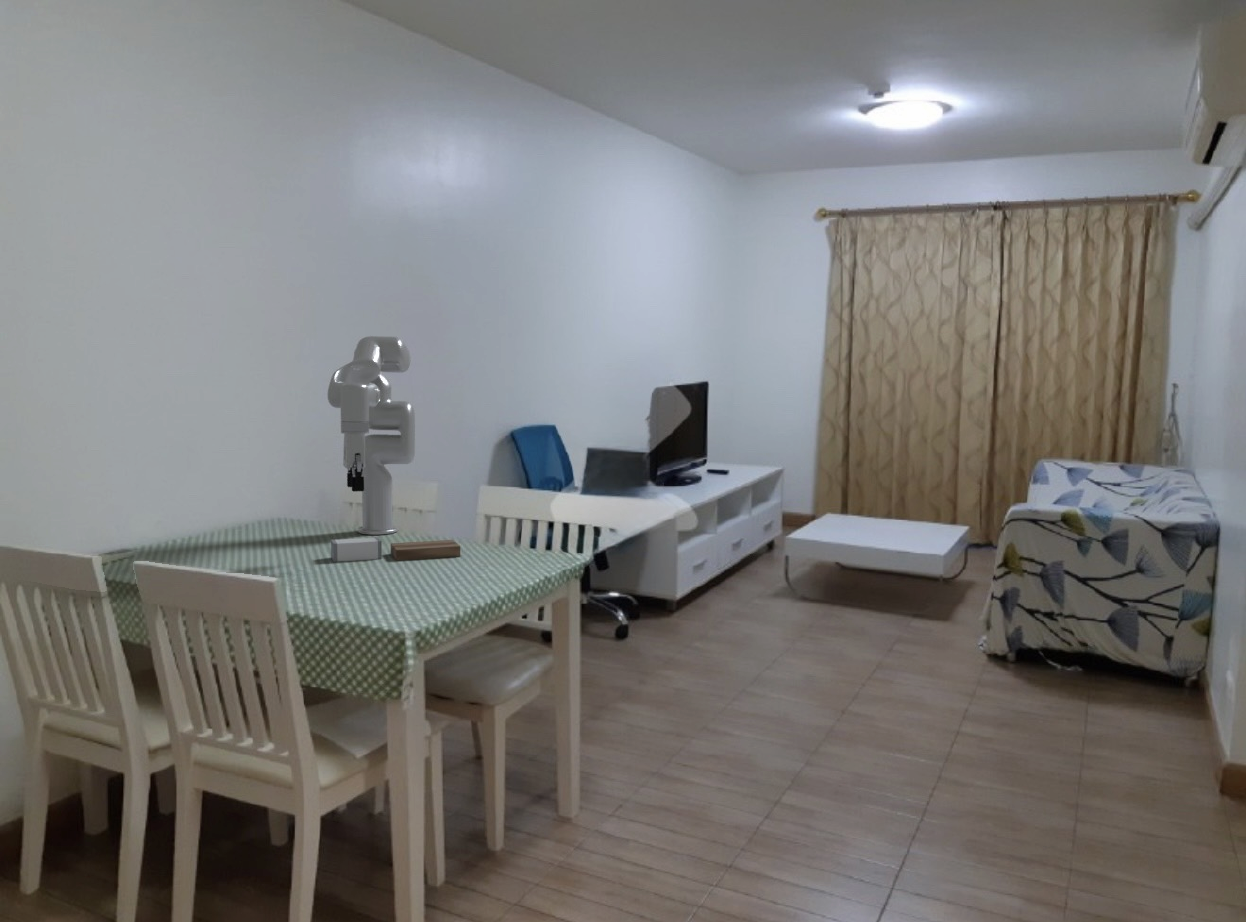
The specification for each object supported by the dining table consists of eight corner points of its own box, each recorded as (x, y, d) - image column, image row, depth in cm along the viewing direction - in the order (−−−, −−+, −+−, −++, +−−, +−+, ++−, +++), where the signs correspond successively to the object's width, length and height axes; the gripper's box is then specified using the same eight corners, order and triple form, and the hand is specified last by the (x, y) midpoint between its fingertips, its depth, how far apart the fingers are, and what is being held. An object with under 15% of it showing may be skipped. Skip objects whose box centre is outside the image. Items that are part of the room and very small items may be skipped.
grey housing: (331, 557, 271) (330, 539, 270) (378, 554, 276) (378, 537, 275) (333, 561, 265) (333, 543, 265) (381, 558, 270) (381, 541, 270)
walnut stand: (390, 553, 277) (390, 543, 277) (452, 549, 284) (452, 539, 284) (396, 560, 268) (396, 550, 268) (460, 556, 275) (460, 546, 275)
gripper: (337, 426, 273) (337, 485, 275) (344, 430, 257) (345, 493, 259) (364, 425, 276) (364, 484, 278) (373, 429, 260) (373, 492, 262)
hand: (355, 489), depth 268 cm, fingers open, 9 cm apart
